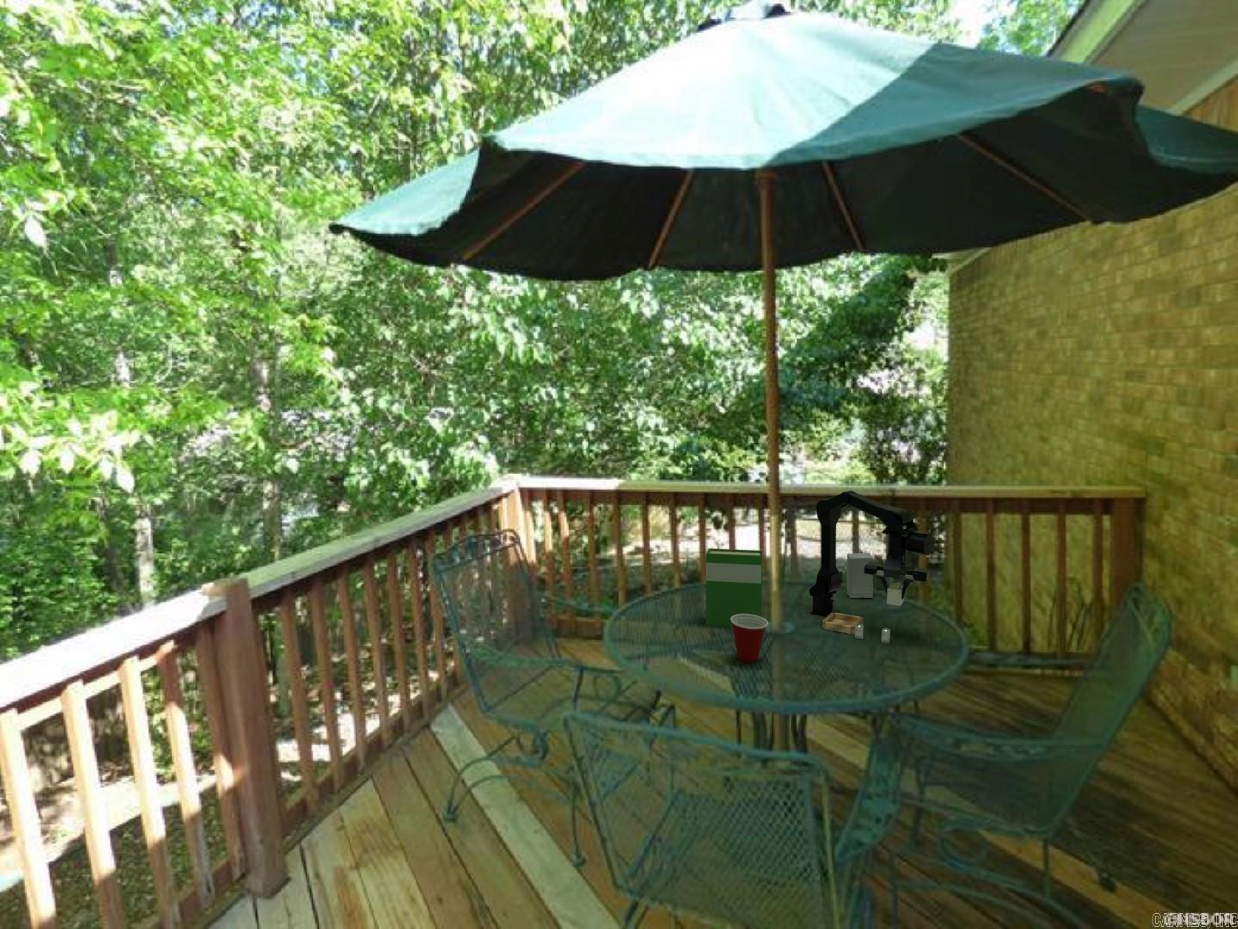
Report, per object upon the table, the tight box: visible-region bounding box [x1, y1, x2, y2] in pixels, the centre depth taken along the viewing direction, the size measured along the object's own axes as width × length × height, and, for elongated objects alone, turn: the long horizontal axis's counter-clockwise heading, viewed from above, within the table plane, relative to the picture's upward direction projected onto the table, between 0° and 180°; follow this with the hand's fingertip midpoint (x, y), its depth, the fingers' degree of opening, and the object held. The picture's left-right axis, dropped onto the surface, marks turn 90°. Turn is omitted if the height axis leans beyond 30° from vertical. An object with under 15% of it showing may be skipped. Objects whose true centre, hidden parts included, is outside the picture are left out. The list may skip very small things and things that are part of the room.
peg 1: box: [854, 624, 864, 640], centre depth 236 cm, size 2×2×4 cm
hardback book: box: [705, 547, 763, 628], centre depth 250 cm, size 18×7×24 cm, turn 78°
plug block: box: [886, 582, 905, 607], centre depth 239 cm, size 4×5×6 cm
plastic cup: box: [730, 614, 769, 664], centre depth 219 cm, size 11×11×12 cm
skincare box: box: [846, 552, 874, 599], centre depth 276 cm, size 8×7×16 cm
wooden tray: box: [821, 612, 864, 636], centre depth 246 cm, size 10×11×2 cm
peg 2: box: [880, 627, 891, 645], centre depth 232 cm, size 2×2×4 cm
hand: (895, 598), depth 239 cm, fingers closed on plug block, 4 cm apart
